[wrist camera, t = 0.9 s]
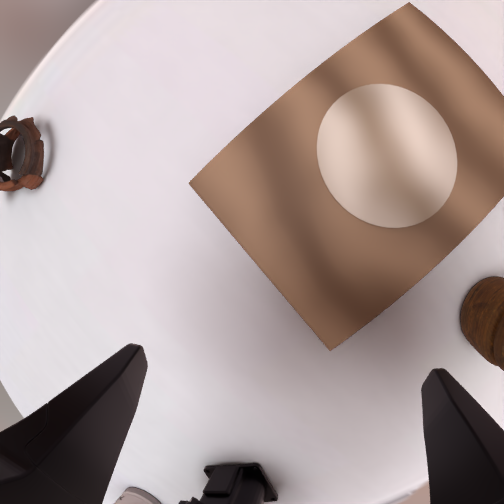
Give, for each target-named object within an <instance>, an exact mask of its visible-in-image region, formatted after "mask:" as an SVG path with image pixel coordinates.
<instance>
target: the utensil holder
mask: <svg viewBox="0 0 504 504" xmlns="http://www.w3.org/2000/svg"><path fill="white" fill-rule="evenodd" d="M461 327H462V331H463V333H464V335H465V337H466V339H467V340H468V341H469V343H470V344H471V345H472V346H473V347H474V348H475V349H476V350H477V351H478V352H479V353H480V354H481V355H482V356H483V357H484V358H485V359H486V360H487V361H488V362H490V363H491V364H493V365H495V366H499V367H500V368H501V369H502V370H503V371H504V278H501V277H489V278H486V279H483V280H482V281H480V282H479V283H477V284H476V285H475V286H474V287H473V288H472V289H471V291H470V292H469V293H468V295H467V297H466V299H465V301H464V303H463V307H462V311H461Z"/></svg>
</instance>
